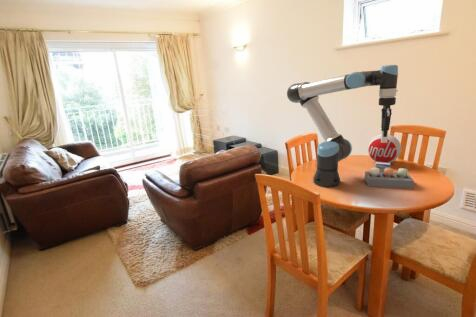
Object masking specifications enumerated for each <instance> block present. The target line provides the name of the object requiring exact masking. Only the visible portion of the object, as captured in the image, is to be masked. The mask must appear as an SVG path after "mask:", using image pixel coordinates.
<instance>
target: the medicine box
mask: <svg viewBox="0 0 476 317" xmlns="http://www.w3.org/2000/svg"><path fill="white" fill-rule="evenodd" d="M374 167H376V168H379V169H380V170H379V172H384V169H385V168H391V162H390V163H384V162H376V161H375V166H374Z"/></svg>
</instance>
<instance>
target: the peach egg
mask: <svg viewBox="0 0 476 317" xmlns="http://www.w3.org/2000/svg"><path fill="white" fill-rule="evenodd" d="M393 172H394V169H393V168H392V167H390V168H385V169H384V175H385V177H390V178H391V176H393Z"/></svg>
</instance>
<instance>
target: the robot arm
mask: <svg viewBox="0 0 476 317" xmlns="http://www.w3.org/2000/svg"><path fill="white" fill-rule="evenodd" d="M398 75H399V65H397V64H390V65H389V64H388V65H387V64H386V65H381V66H380V69H379V70H367V71H365V70H363V71H355V72H350V73H348V74H343V75H339V76H335V77H331V78H327V79H326V78H325V79H323V80H322V79H321V80H319V81H317V80H316V81H313V82H311V81H310V82H308V81H305V82H301V83H300V82H298V83H292V84H291V85H290V86H289V87H288V88H287V92H286V96H287V99H288V100H289V101H290V102H291V103H294V104H297V103H299V104H300V106H301V107H302V108H303V109H306V112H307V113H308V115H309V117H310V118H311V119H312V121H313V123H314V124H315V126H316V128H317V130H318V132H319V133H320V135H321V137H322V138H323V140H324V141H323V142H321V143H319V144H318V145H317V150H316V169H315V173H314V176H313V177H312V182H313V183H314V184H315V185H317V186H320V187H325V188H326V187H327V188H334V187H338V186H340V185H341V178H340V174H339V170H338V169H339V162H340V161H343V160H344V159H347V158H348V156H350V155H351V153H352V150H353V146H352V144H351V143H352V142H350V141H349V140H348V139H345V138H344V136H343V135H342V134H341V133H338V132H337V130H336V128H335V127H334V125H333V123H332V122H331V120H330V119H329V117H328V115H327V114H326V112H325V110H324V109H323V107H322V105H321V103H320V102H319V98H320V97H319V96H321V95H328V94H333V93H336V92H343V91H348V90H353V89H354V90H355V89H359V88H365V87H372V86H373V87H375V86H379V88H378V89H379V90H378V97H379V98H378V106H382V108H381V110H380V111H381V122H380V123H381V124H380V125H381V126H380V127H381V130H380V132H381V134H382V135H381V134H380V135H381V143H387V139H388V135H389V131H390V127H391V125H390V124H391V119H392V118H391V117H392V108H391V106H395V105H396V100H397V98H396V96H397V92H398V89H397V86H398V77H399V76H398Z"/></svg>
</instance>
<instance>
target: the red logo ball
mask: <svg viewBox="0 0 476 317" xmlns="http://www.w3.org/2000/svg"><path fill="white" fill-rule="evenodd" d="M381 135H382V133H381V134H378V135H375V136H374V137H373V138H372V139H371V140H370V141H369V143H368V146H367V152H368V155H369V157H370V158H371V159H372V160H373V161H374V162H375V163H376V162H384V163H390V164H391V163H393V162H394V161H396V160H397V159H398V158H399V156H400V155H401V151H402V145H401V142H400V141H399V140H398V138H396V137H395V136H394V135H391V134H388V139H387V143H381Z"/></svg>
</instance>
